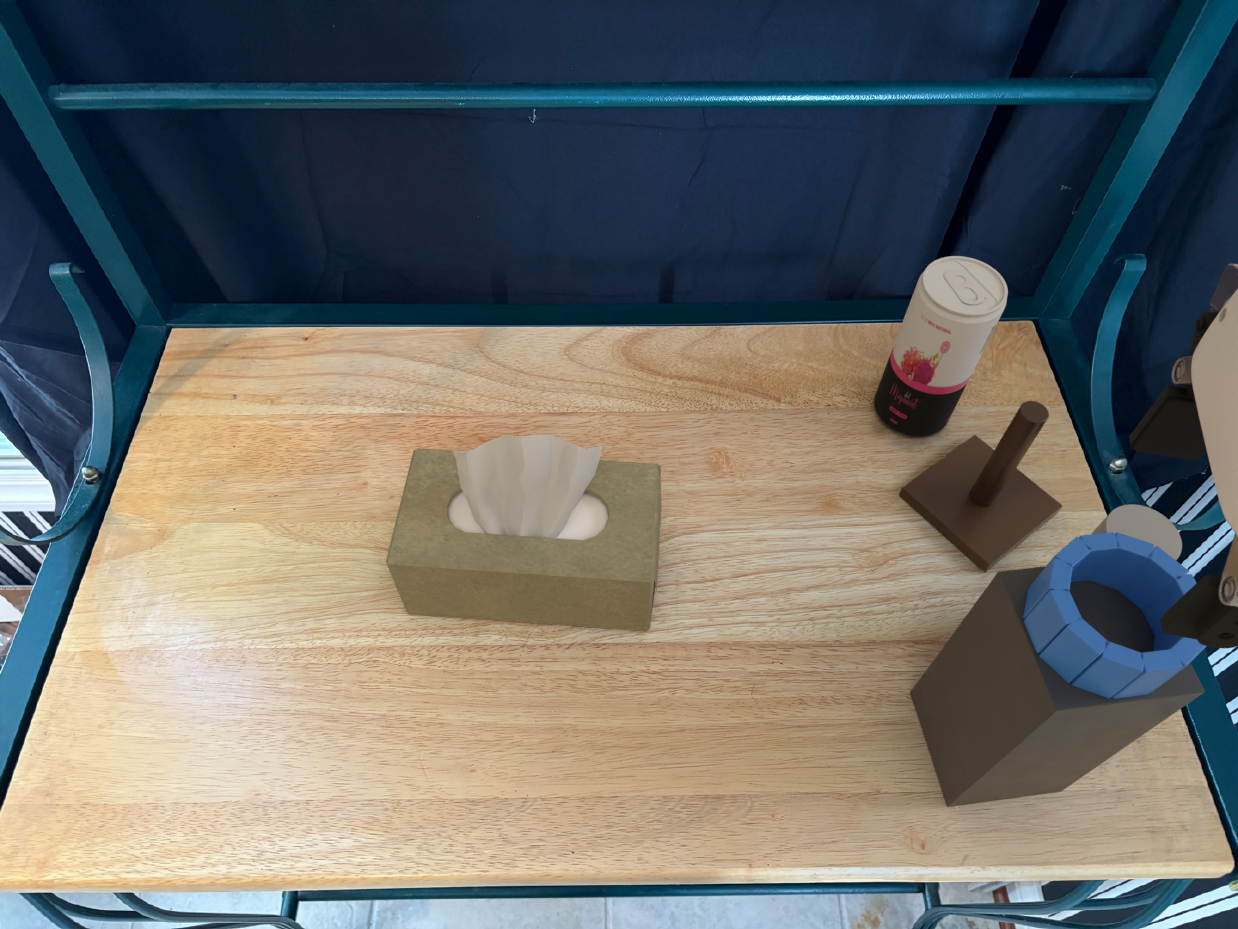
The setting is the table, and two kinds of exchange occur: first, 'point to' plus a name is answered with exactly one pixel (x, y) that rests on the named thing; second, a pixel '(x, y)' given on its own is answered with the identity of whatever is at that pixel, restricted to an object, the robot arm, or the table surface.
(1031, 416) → the stand
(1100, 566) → the ring
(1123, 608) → the pedestal
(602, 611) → the tissue box
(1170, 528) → the container
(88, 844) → the table surface
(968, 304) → the beverage can
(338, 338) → the table surface
